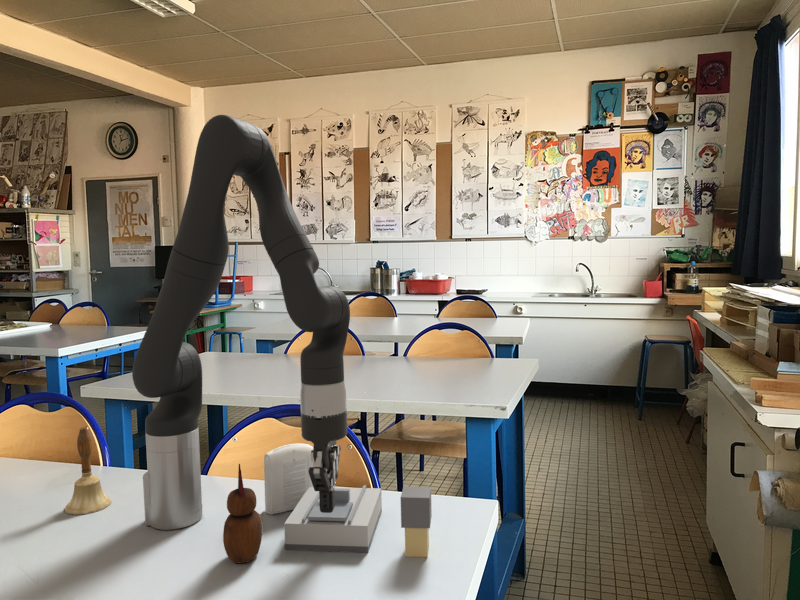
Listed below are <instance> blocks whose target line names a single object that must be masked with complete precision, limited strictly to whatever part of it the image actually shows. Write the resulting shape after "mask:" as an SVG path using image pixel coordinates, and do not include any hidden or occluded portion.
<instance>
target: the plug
mask: <svg viewBox="0 0 800 600" xmlns="http://www.w3.org/2000/svg"><path fill="white" fill-rule="evenodd" d="M431 523H432V487H431V486H405V485H403V487H402V491H401V494H400V524H401V525H400V528H402V529H403V528H404V554H405V555H404V556H405V557H411V558H412V557H413V558H414V557H415V558H428V557H429V551H430V550H429V549H430V536H429V534H430V533H429V531H430V529H431Z"/></svg>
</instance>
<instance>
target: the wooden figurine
mask: <svg viewBox="0 0 800 600" xmlns="http://www.w3.org/2000/svg"><path fill="white" fill-rule="evenodd" d="M237 473H238V474H237V475H238V477H237V478H238V480H237V488H235V489H233V490H231V491H230V492H229V493H228V496H227V500H226V508H227V511H228V514H229V515H228V516H227V517H226V519H225V521H224V525H223V534H222V541H223V542H222V543H223V548H224V551H225V553H226V556H227V557H228V559H229V560H230V561H232V562H233V563H236V564H243V563H248V562H250V561H252V560H253V559H255V558H256V556H258V554H259V551H260V548H261V544H262V540H263V539H262V538H263V523H262V522H263V521H262V517H261V515H260V514H259V512H257V511H256V510H255V509H256V507H257V496H256V495H257V494H256V493H255V491H254V490H253V489H252V488H250V487H244V483H243V476H242V468H241V464H240V463H238V472H237Z"/></svg>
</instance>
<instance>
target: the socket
mask: <svg viewBox="0 0 800 600" xmlns="http://www.w3.org/2000/svg"><path fill="white" fill-rule="evenodd" d="M334 488H337V489H350V501H349V502H353V506H352V508H351V511H350V513H349V515H348V517H347V519H346V521H315V520H308V516H309V514H310V512H311V511H312V509H313V507H314V506H315V504H316V502H317V501H320V500H319V491H315V490H314V487H309V488H308V489H307V491H306V492H305V494H304V495H303V497H302V498H301V500H300V501H299V503H298V504H297V506H296V507H295V509H293V510H292V512H291V513H290V515H289V516H288V517H287V519H286V520H285V522H284V523H283V525H284V548H285V549H284V550H285V551H309V552H310V551H312V552H314V551H315V552H319V551H320V552H343V553H367V554H368V553H369V551H370V548H371V545H372V542H373V539H374V536H375V534H376V530H377V527H378V524H379V521H380V518H381V515H382V512H383V510H382V507H383V505H382V504H383V502H382V488H380V487H379V488H377V487H376V488H375V487H367V484H363V485H362V487H336V486H335V487H334Z"/></svg>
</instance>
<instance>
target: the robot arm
mask: <svg viewBox="0 0 800 600" xmlns="http://www.w3.org/2000/svg"><path fill="white" fill-rule="evenodd" d="M271 145H272V144H271V142H270V140H269V138H268V136H267V134H266V133H265V132H264V130H262V129H261V128H260V127H258V126H256V125H255V124H253V123H250V122H247V121H245V120H242V119H239V118H236V117H233V116H230V115H227V114H217V115H215V116H213V117H211V118H210V119H208V121H206V123H205V124H204V126H203V128H202V130H201V132H200V135H199V138H198V140H197V144H196V151H195V155H194V159H193V160H194V161H193V166H192V172H191V176H190V182H189V188H188V191H187V192H188V193H187V196H186V201H185V204H184V208H183V211H182V216H181V219H180V224H179V227H178V230H177V234H176V236H175V240H174V242H173V245H172V247H171V248H172V249H171V251H170V255H169V258H168V261H167V267H166V270H165V275H164V278H163V282H162V284H161V287H160V291H159V293H158V296H157V299H156V303H155V305H154V309H153V312H152V316H151V318H150V320H149V322H148V325H147V328H146V330H145V333H144V334H143V337H142V339H141V342H140V345H139V346H138V349H137V351H136V353H135V357H134V360H133V364H132V370H131V371H132V373H131V374H132V375H131V377H132V381H133V384H134V387H135V389H136V390H137V392H138V393H139V394H140V395H141V396H143V397H145V398H151V399H156V398H157V399H158V398H159V400H158V402H157V404H156V406H155V407H154V408H153V409H152V410H151V411H150V412H149V413H148V415H146V417H145V421H144V423H145V424H144V426H145V427H144V429H145V446H146V447H145V448H146V462H147V463H146V464H147V465H146V466H147V467H146V468H147V471H146V472H145V473H144V474H142V486H143V503H144V504H143V508H144V524H145V526H151V528H153V529H157V530H160V531H161V530H162V531H163V530H164V531H167V530H169V531H171V530H178V529H182V528H186V527H189V526H192V525H193V524H195V523H197V522H199V521H200V520H201V519H202V517H203V501H202V500H203V497H202V496H203V495H202V492H203V491H202V477H201V476H202V474H201V454H200V453H201V451H200V450H201V449H200V435H199V418H200V415H201V412H202V408H203V367H202V361H201V357H200V354H199V353H198V351H197V350H196V348H195V347H194V346H193V345H192V344H190V343H188V342H185V341H184V340H185V337H186V335H187V333H188V330H189V329H190V327H191V325H192V324H193V322H194V321H195V320H196V318H197V317H198V316H199V315H200V313H201V312H202V310H204V308H205V307H206V306H207V305H208V303H209V302H210V300H211V299H212V298H213V296H214V294H215V293H216V292H217V289H218V287H219V286H220V282H221V280H222V277H223V273H224V270H225V267H226V264H227V261H228V257H229V249H230V247H229V236H228V229H227V224H226V217H225V204H226V203H225V202H226V198H227V194H228V191H229V187H230V184H231V182H232V178H233V176H237V177H240V178H241V179H242V181H243V182H244V183H245V184H246V186H247V187H248V189H249V190H250V192H251V194H252V195H253V198H254V200H255V203H256V206H257V211H258V212H257V213H258V225H259V234H260V238H261V241H262V244H263V247H264V249H265V251H266V253H267V254H268V255H267V256H268V257H269V259H270V260H271V262H272V265H273V267H274V268H275V269H274V270H276V272H277V274H278V277H279V281H280V286H281V292H282V295H283V300H284V304H285V309H286V311H287V314H288V316H289V318H290V320H291V321H292V323H293V324H294V325H295V326H296V327H297V328H298V329H300V330H302V331H304V332H307V333H312V334H311V335H312V336H311V341H310V342H309V344H308V345H306V346H305V347H304V348H302V350H301V352H300V357H299V358H300V361H299V362H300V382H301V383H300V393H299V395H300V397H299V398H300V399H299V402H300V425H301V426H300V428H301V438H302V439H303V440H305V441H308V442H311V443H312V444H313V450H312V451H311V461H312V462H313V467H310V468H309V471H308V472H309V476H310V478H311V481H312V484H313V487H314V490H315V491H319V500H320V511H321V512H322V513H331V512H332V511H333V510H334V508H335V499H334V487H336V485H337V482H336V480H338V478H339V466H340V465H339V464H340V456H341V450H342V447H341V445H340V444H337V441H340V440H342V439H344V438H346V437H347V435H348V408H347V405H348V404H347V402H348V401H347V391H346V384H345V367H344V366H345V365H344V362H345V361H344V352H345V347H346V344H347V338H348V333H349V328H350V321H351V308H350V304H349V300H348V297H347V296H346V294H345V293H344V292H343V291H342V290H341V289H340V288H339V287H337V286H331V285H329V286H327V285H326V286H318V284H317V282H316V278H315V273H316V272H317V271H318V269H319V268H320V262H319V257H318V256H317V253H316V252H315V251H316V250H314V248H313V245H312V243H311V242H310V239H309V238H308V236H307V234H306V232H305V230H304V228H303V226H302V224H301V222H300V221H299V218H298V217H297V214H296V212H295V210H294V207H293V205H292V202H291V200H290V197H289V194H288V191H287V189H286V187H285V182H284V181H283V180H284V179H283V177H282V174H281V172H280V169H279V165H278V162H277V160H276V156H275V153H274V151H273V148H272V146H271Z"/></svg>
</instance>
